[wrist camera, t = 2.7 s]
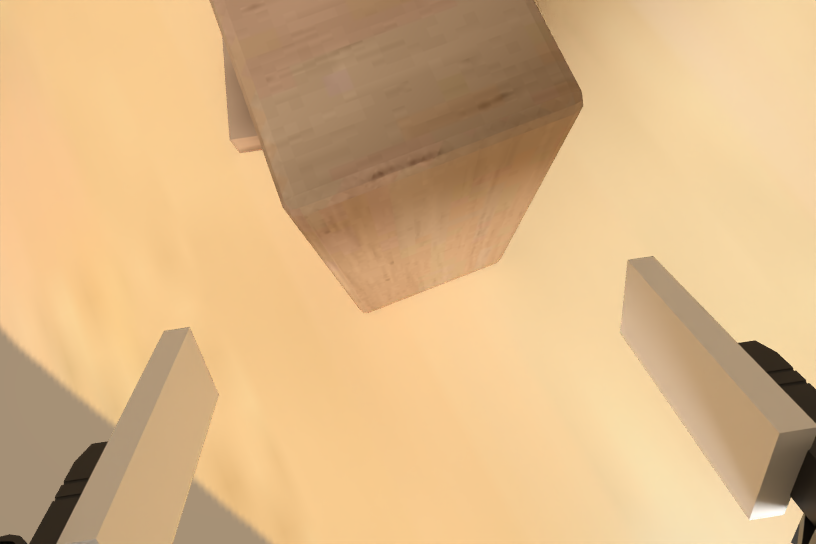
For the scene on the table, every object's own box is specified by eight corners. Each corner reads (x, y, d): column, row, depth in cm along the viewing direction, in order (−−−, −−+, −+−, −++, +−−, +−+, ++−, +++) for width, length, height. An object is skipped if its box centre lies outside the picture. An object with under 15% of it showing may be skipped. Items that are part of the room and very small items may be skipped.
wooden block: (313, 185, 37) (191, -46, 18) (445, 135, 38) (466, -141, 18) (362, 316, 35) (283, 216, 16) (502, 262, 36) (594, 99, 16)
